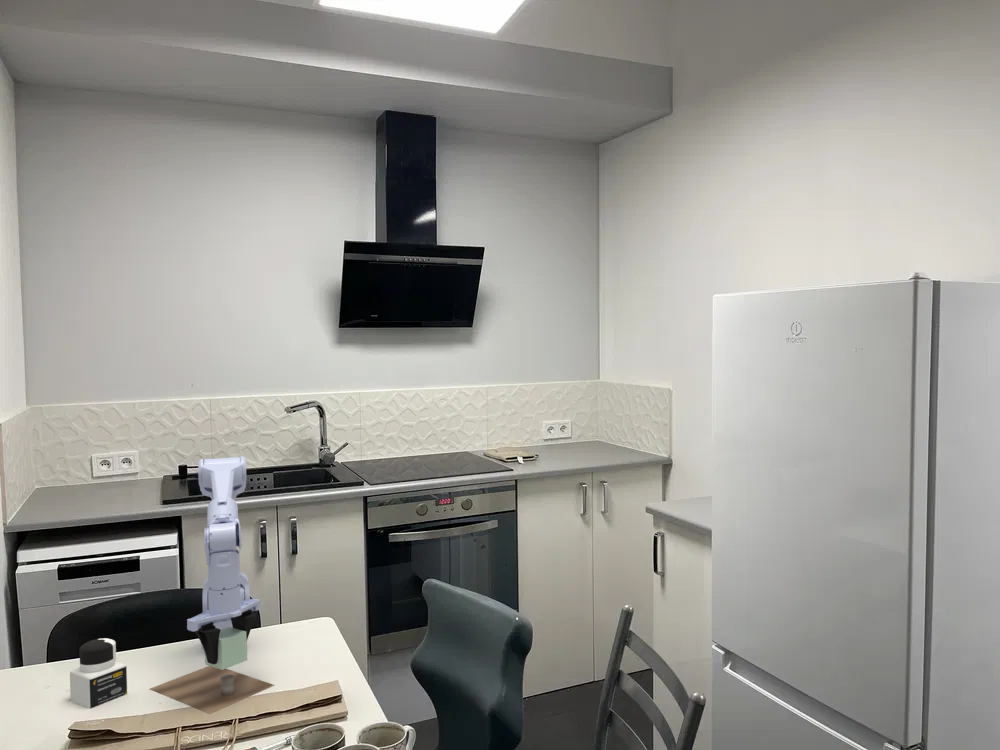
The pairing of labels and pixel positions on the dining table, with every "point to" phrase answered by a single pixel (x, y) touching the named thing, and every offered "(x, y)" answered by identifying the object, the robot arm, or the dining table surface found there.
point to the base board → (211, 688)
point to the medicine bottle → (98, 674)
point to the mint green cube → (230, 648)
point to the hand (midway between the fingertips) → (226, 657)
